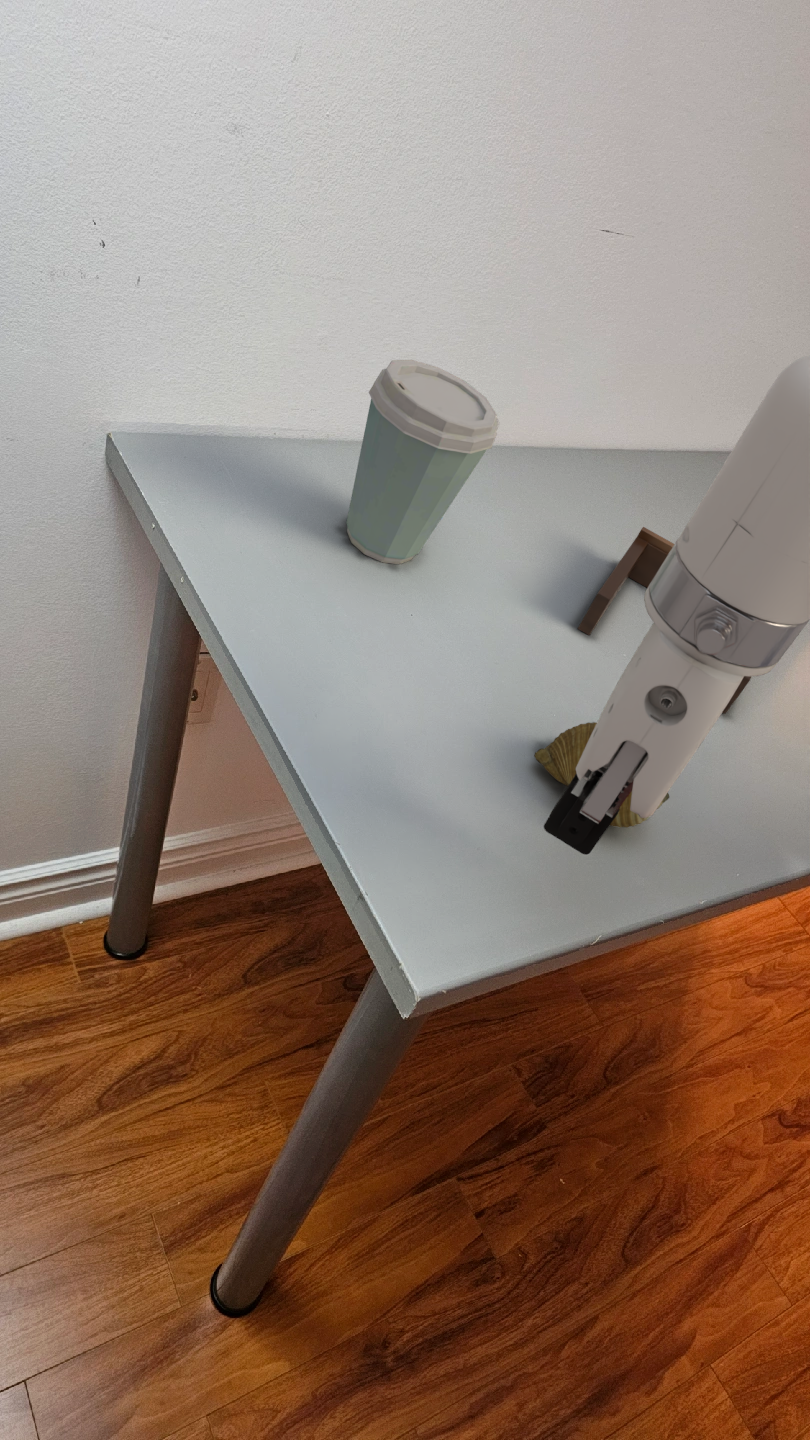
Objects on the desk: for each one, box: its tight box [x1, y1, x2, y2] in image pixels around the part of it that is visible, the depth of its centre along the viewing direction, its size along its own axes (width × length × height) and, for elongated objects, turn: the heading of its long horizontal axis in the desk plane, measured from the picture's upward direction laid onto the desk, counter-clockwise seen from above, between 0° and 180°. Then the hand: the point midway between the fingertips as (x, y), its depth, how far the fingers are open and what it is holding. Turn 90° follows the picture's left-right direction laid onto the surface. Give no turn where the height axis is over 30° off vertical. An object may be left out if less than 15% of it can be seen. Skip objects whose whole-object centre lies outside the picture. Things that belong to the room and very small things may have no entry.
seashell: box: [533, 721, 670, 829], centre depth 75 cm, size 10×7×8 cm
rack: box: [577, 526, 752, 714], centre depth 94 cm, size 14×14×5 cm
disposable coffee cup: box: [345, 359, 500, 565], centre depth 86 cm, size 11×11×15 cm
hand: (568, 834), depth 65 cm, fingers closed
